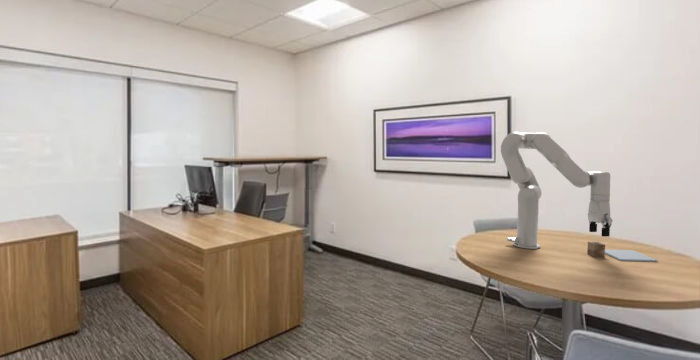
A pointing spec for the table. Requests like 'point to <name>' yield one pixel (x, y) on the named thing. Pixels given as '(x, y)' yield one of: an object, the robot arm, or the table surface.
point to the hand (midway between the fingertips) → (599, 234)
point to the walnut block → (596, 249)
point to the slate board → (629, 255)
